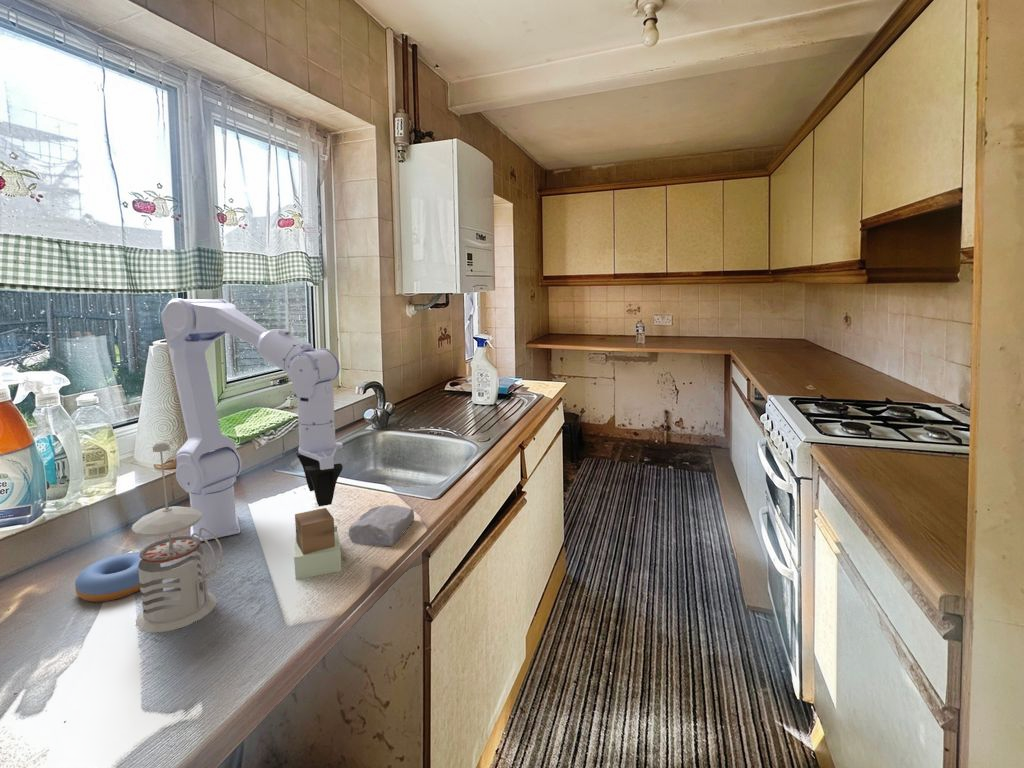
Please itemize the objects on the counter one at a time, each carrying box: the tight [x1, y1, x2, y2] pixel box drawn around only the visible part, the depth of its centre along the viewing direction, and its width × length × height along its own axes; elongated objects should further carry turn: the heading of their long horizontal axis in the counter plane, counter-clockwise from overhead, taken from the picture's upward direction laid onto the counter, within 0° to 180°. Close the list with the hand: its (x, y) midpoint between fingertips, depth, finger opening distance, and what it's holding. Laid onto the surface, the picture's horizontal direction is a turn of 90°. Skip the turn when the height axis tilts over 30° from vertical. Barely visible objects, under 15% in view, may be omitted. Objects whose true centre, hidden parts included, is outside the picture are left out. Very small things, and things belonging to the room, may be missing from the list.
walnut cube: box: [294, 507, 335, 555], centre depth 83 cm, size 5×5×5 cm
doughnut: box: [74, 551, 142, 603], centre depth 77 cm, size 10×10×5 cm
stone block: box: [348, 504, 415, 547], centre depth 97 cm, size 12×5×10 cm
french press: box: [131, 441, 223, 633], centre depth 70 cm, size 10×12×25 cm
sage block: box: [293, 531, 342, 580], centre depth 84 cm, size 7×7×4 cm
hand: (320, 497), depth 87 cm, fingers open, 7 cm apart
